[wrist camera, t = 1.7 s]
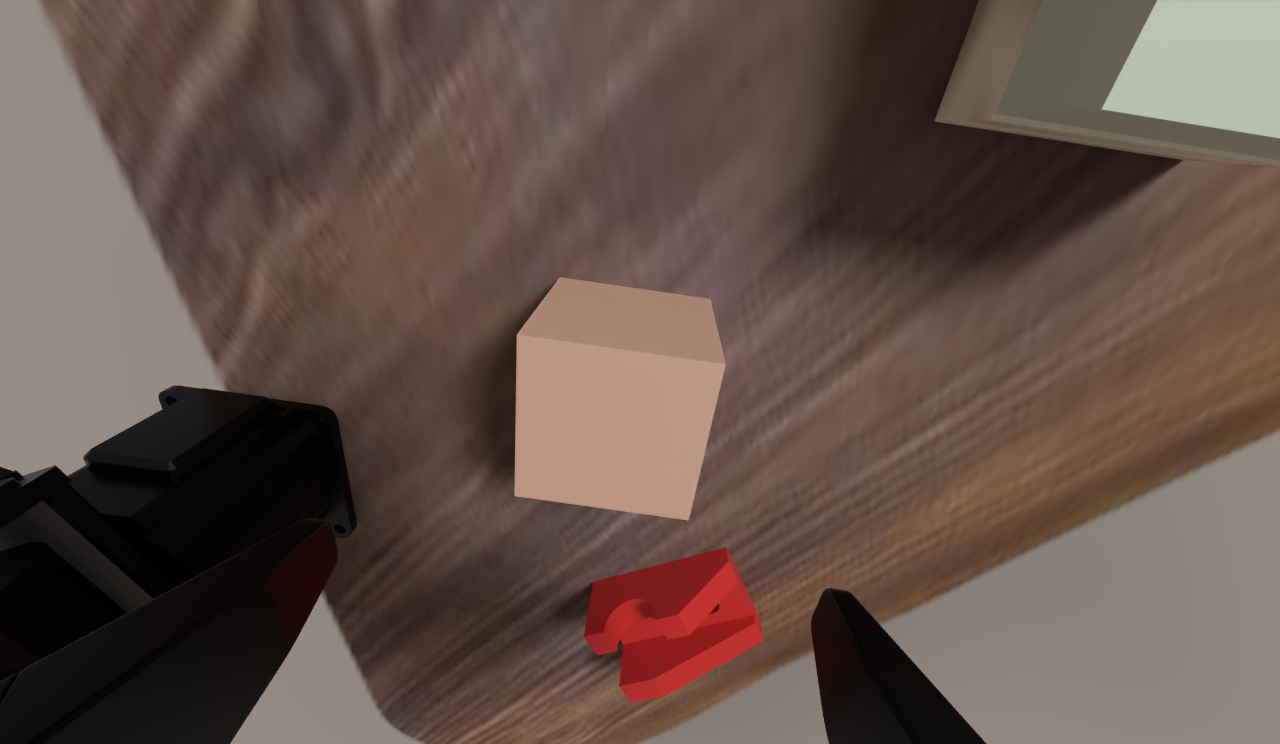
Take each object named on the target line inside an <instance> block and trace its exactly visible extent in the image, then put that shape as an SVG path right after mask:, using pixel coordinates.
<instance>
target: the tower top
mask: <svg viewBox="0 0 1280 744" xmlns="http://www.w3.org/2000/svg"><path fill="white" fill-rule="evenodd" d="M995 114H997V115H1003V116H1009V117H1016V118H1022V119H1028V120H1034V121H1040V122H1046V123H1053V124H1059V125H1065V126H1071V127H1077V128H1084V129H1090V130H1096V131H1102V132H1108V133H1114V134H1121V135H1127V136H1133V137H1139V138H1145V139H1152V140H1158V141H1164V142H1170V143H1176V144H1183V145H1189V146H1195V147H1201V148H1207V149H1213V150H1220V151H1226V152H1232V153H1238V154H1244V155H1251V156H1257V157H1263V158H1269V159H1275V160H1280V0H1042V3H1041V5H1040V8H1039V10H1038V12H1037V15H1036V17H1035V19H1034V22H1033V24H1032V26H1031V29H1030V31H1029V34H1028V36H1027V38H1026V41H1025V43H1024V45H1023V48H1022V50H1021V52H1020V55H1019V57H1018V60H1017V62H1016V64H1015V67H1014V69H1013V71H1012V74H1011V76H1010V78H1009V81H1008V83H1007V86H1006V88H1005V90H1004V93H1003V95H1002V97H1001V100H1000V102H999V104H998V107H997V109H996V112H995Z"/></svg>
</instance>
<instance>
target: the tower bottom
mask: <svg viewBox="0 0 1280 744" xmlns="http://www.w3.org/2000/svg"><path fill="white" fill-rule="evenodd" d="M1041 3H1042V0H979V2H978V4H977V7H976V10H975V12H974V15H973V18H972V20H971V23H970V26H969V29H968V31H967V34H966V37H965V39H964V42H963V45H962V48H961V50H960V53H959V56H958V58H957V61H956V64H955V66H954V69H953V72H952V75H951V77H950V80H949V83H948V85H947V88H946V91H945V94H944V96H943V99H942V102H941V104H940V107H939V110H938V112H937V115H936V118H935V121H934V122H941V123H947V124H954V125H960V126H967V127H973V128H979V129H986V130H992V131H999V132H1005V133H1012V134H1018V135H1025V136H1031V137H1038V138H1044V139H1050V140H1057V141H1063V142H1070V143H1076V144H1083V145H1089V146H1096V147H1102V148H1108V149H1115V150H1121V151H1128V152H1134V153H1141V154H1147V155H1154V156H1160V157H1167V158H1173V159H1179V160H1189V161H1206V162H1222V163H1238V164H1255V165H1271V166H1280V160H1275V159H1269V158H1263V157H1257V156H1251V155H1244V154H1238V153H1232V152H1226V151H1220V150H1213V149H1207V148H1201V147H1195V146H1189V145H1183V144H1176V143H1170V142H1164V141H1158V140H1152V139H1145V138H1139V137H1133V136H1127V135H1121V134H1114V133H1108V132H1102V131H1096V130H1090V129H1084V128H1077V127H1071V126H1065V125H1059V124H1053V123H1046V122H1040V121H1034V120H1028V119H1022V118H1016V117H1009V116H1003V115H997V114H995V112H996V109H997V107H998V104H999V102H1000V100H1001V97H1002V95H1003V93H1004V90H1005V88H1006V86H1007V83H1008V81H1009V78H1010V76H1011V74H1012V71H1013V69H1014V67H1015V64H1016V62H1017V60H1018V57H1019V55H1020V52H1021V50H1022V48H1023V45H1024V43H1025V41H1026V38H1027V36H1028V34H1029V31H1030V29H1031V26H1032V24H1033V22H1034V19H1035V17H1036V15H1037V12H1038V10H1039V8H1040V5H1041Z"/></svg>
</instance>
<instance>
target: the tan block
mask: <svg viewBox="0 0 1280 744" xmlns="http://www.w3.org/2000/svg"><path fill="white" fill-rule="evenodd" d="M725 365H726V364H725V359H724V355H723V351H722V347H721V342H720V338H719V334H718V330H717V325H716V321H715V317H714V313H713V308H712V304H711V300H710V299H706V298H699V297H692V296H685V295H679V294H672V293H665V292H658V291H651V290H644V289H637V288H630V287H623V286H616V285H609V284H602V283H595V282H588V281H581V280H574V279H567V278H559V279H558V280H557V282H556V283H555V284H554V286H553V287H552V288H551V290H550V291H549V292H548V294H547V295H546V296H545V298H544V299H543V300H542V302H541V303H540V304H539V306H538V307H537V308H536V310H535V311H534V312H533V314H532V315H531V316H530V318H529V319H528V320H527V322H526V323H525V324H524V326H523V327H522V328H521V330H520V331H519V332H518V334H517V361H516V432H515V496H518V497H525V498H532V499H540V500H547V501H554V502H561V503H568V504H575V505H582V506H590V507H597V508H604V509H611V510H618V511H625V512H633V513H640V514H647V515H654V516H661V517H668V518H676V519H683V520H689V517H690V513H691V509H692V504H693V500H694V496H695V492H696V488H697V483H698V479H699V475H700V471H701V466H702V462H703V458H704V454H705V449H706V445H707V441H708V437H709V433H710V428H711V424H712V420H713V416H714V411H715V407H716V403H717V399H718V394H719V390H720V386H721V382H722V378H723V373H724V369H725Z"/></svg>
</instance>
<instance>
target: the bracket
mask: <svg viewBox="0 0 1280 744" xmlns="http://www.w3.org/2000/svg"><path fill="white" fill-rule="evenodd" d="M584 638H585V639H586V640H587V642H588V643H589V645H590V646H591V647H592V649H593V650H594V652H595V653H596V654H597V656H598V655H602V654H607V653H611V652H616V651H617V648H618V643H619V641H620V640H621V642H622V643H623V652H622V663H621V674H620V685H619V686H620V688H621V689H622V691H623V692H624V693H625V695H626V696H627V698H628V699H629V700H630V702H637V701H642V700H647V699H652V698H657V697H662V696H666V695H667V694H669V693H671V692H673V691H675V690H676V689H678V688H680V687H682V686H684V685H685V684H687V683H689V682H691V681H693V680H694V679H696V678H698V677H700V676H702V675H703V674H705V673H707V672H709V671H711V670H712V669H714V668H716V667H718V666H719V665H721V664H723V663H725V662H727V661H728V660H730V659H732V658H734V657H736V656H737V655H739V654H741V653H743V652H745V651H746V650H748V649H750V648H752V647H754V646H755V645H757V644H759V643H761V642H763V641H764V638H763V632H762V627H761V622H760V617H759V615H758V613H757V611H756V609H755V607H754V604H753V602H752V600H751V598H750V596H749V594H748V592H747V590H746V587H745V585H744V583H743V581H742V579H741V577H740V575H739V573H738V571H737V568H736V566H735V564H734V562H733V560H732V558H731V556H730V554H729V552H728V549H727V547H726V548H722V549H719V550H715V551H711V552H707V553H703V554H699V555H695V556H692V557H688V558H684V559H680V560H676V561H672V562H668V563H665V564H661V565H657V566H653V567H649V568H645V569H641V570H638V571H634V572H630V573H626V574H622V575H618V576H614V577H610V578H607V579H603V580H599V581H595V582H593V586H592V592H591V598H590V604H589V610H588V616H587V622H586V628H585V634H584Z"/></svg>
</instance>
